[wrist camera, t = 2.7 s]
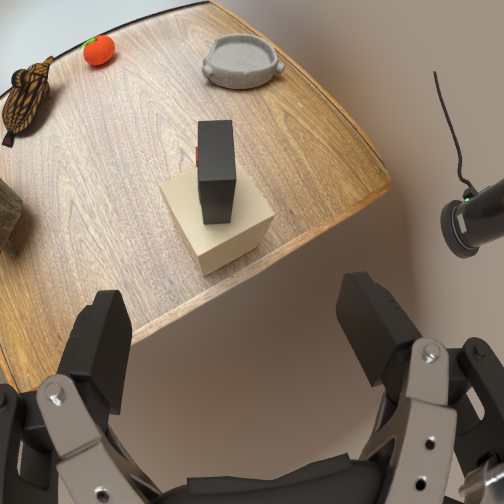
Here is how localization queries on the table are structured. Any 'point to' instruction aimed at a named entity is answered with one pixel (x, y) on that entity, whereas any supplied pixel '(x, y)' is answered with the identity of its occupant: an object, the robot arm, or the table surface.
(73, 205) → the table surface
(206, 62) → the dish
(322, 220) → the table surface
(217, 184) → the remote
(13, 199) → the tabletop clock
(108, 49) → the clementine
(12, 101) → the decorative fish sculpture
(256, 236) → the stand
